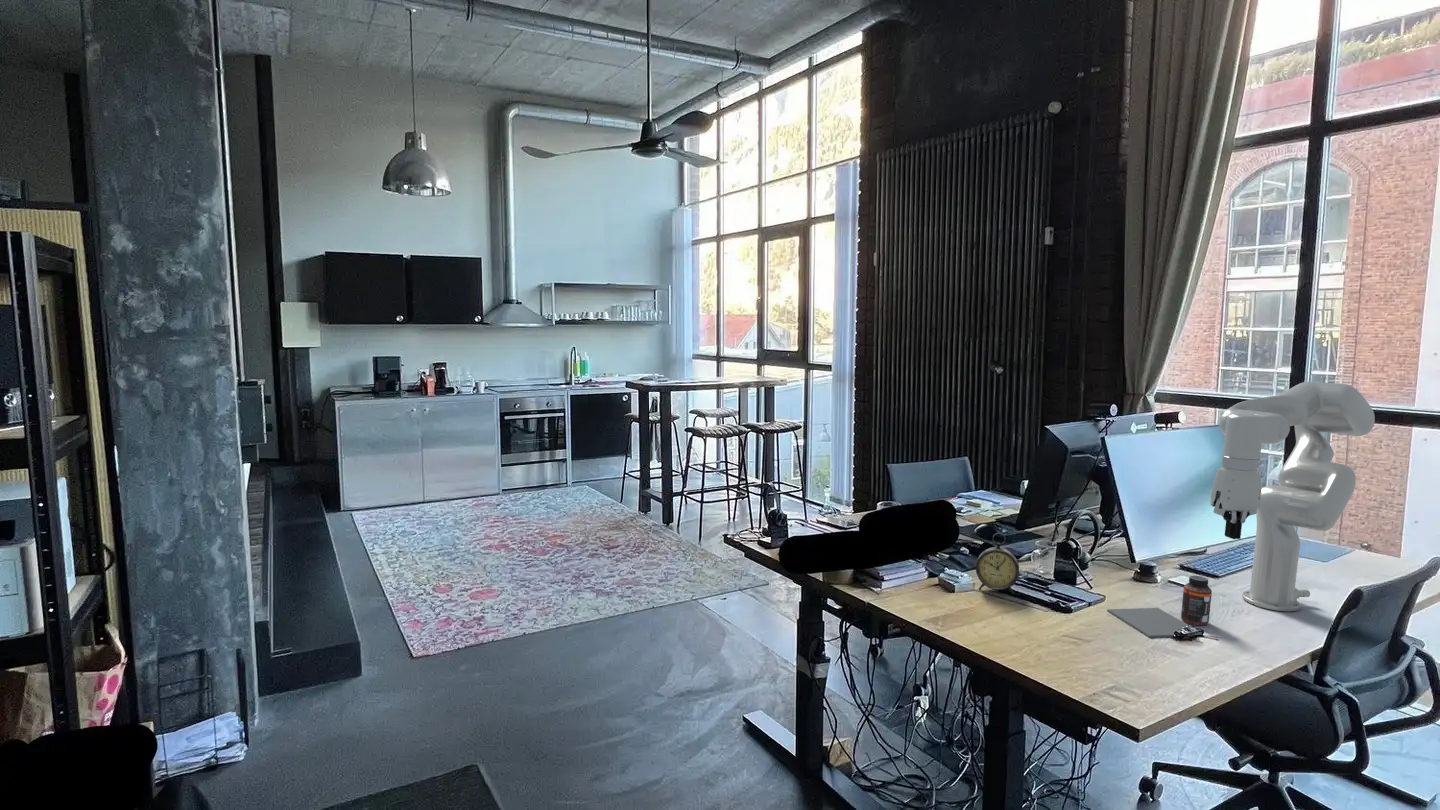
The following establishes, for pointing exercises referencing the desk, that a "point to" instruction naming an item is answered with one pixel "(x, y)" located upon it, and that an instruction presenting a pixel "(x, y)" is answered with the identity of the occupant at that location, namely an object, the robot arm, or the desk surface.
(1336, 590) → the desk surface
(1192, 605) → the supplement bottle
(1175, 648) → the desk surface
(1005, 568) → the alarm clock
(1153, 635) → the rubber mat
